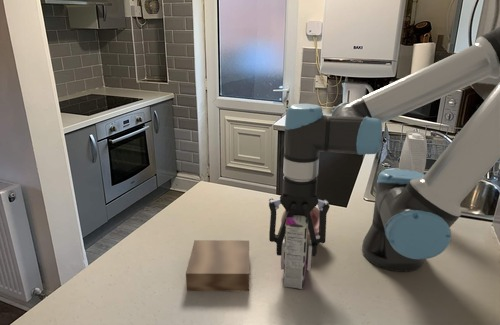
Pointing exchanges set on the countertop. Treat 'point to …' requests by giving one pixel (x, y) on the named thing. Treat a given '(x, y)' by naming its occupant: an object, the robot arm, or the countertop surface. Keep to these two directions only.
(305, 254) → the candy bar box
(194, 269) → the walnut block
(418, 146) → the skyscraper
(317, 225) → the mortar and pestle
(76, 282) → the countertop surface
